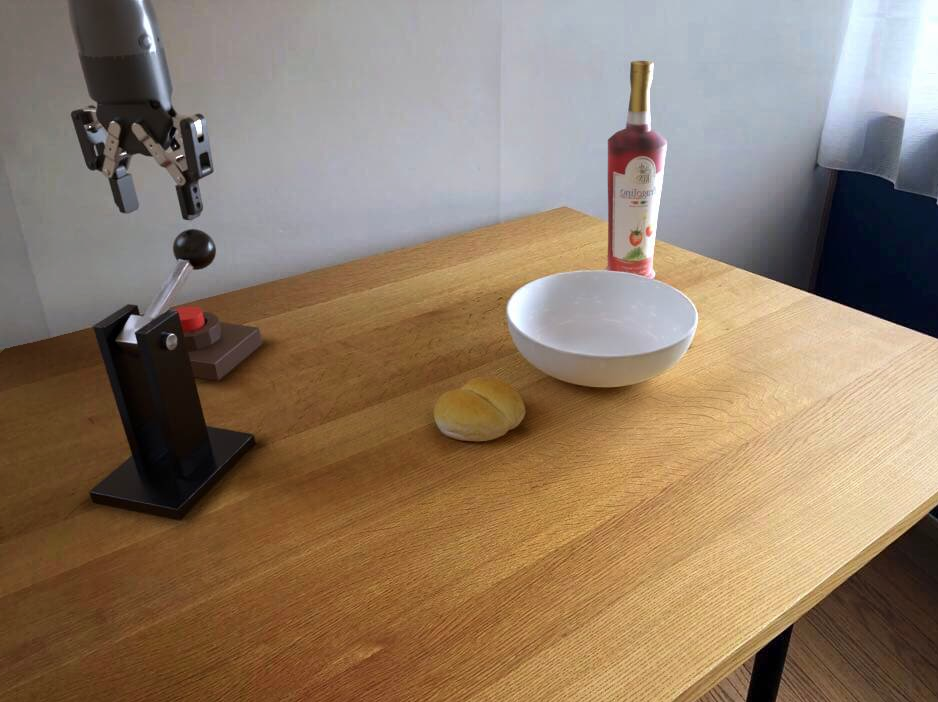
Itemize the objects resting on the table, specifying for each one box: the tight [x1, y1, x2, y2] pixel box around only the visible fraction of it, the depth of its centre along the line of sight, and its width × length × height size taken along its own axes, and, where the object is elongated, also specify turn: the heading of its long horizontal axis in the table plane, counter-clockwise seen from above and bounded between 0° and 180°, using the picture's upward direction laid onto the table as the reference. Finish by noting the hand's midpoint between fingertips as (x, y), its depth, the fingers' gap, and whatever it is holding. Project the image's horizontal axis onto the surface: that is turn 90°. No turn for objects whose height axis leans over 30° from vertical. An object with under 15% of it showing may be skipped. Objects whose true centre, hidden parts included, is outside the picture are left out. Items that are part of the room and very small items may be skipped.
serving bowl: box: [505, 269, 699, 388], centre depth 95 cm, size 21×21×7 cm
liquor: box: [603, 60, 668, 279], centre depth 109 cm, size 7×7×28 cm
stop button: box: [173, 305, 205, 332], centre depth 96 cm, size 4×4×2 cm
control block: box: [183, 310, 263, 382], centre depth 98 cm, size 12×9×4 cm
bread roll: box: [433, 376, 527, 442], centre depth 86 cm, size 8×9×4 cm
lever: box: [115, 228, 217, 359], centre depth 75 cm, size 13×4×4 cm, turn 164°
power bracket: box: [88, 303, 257, 521], centre depth 75 cm, size 12×9×16 cm
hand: (160, 214), depth 90 cm, fingers open, 7 cm apart
